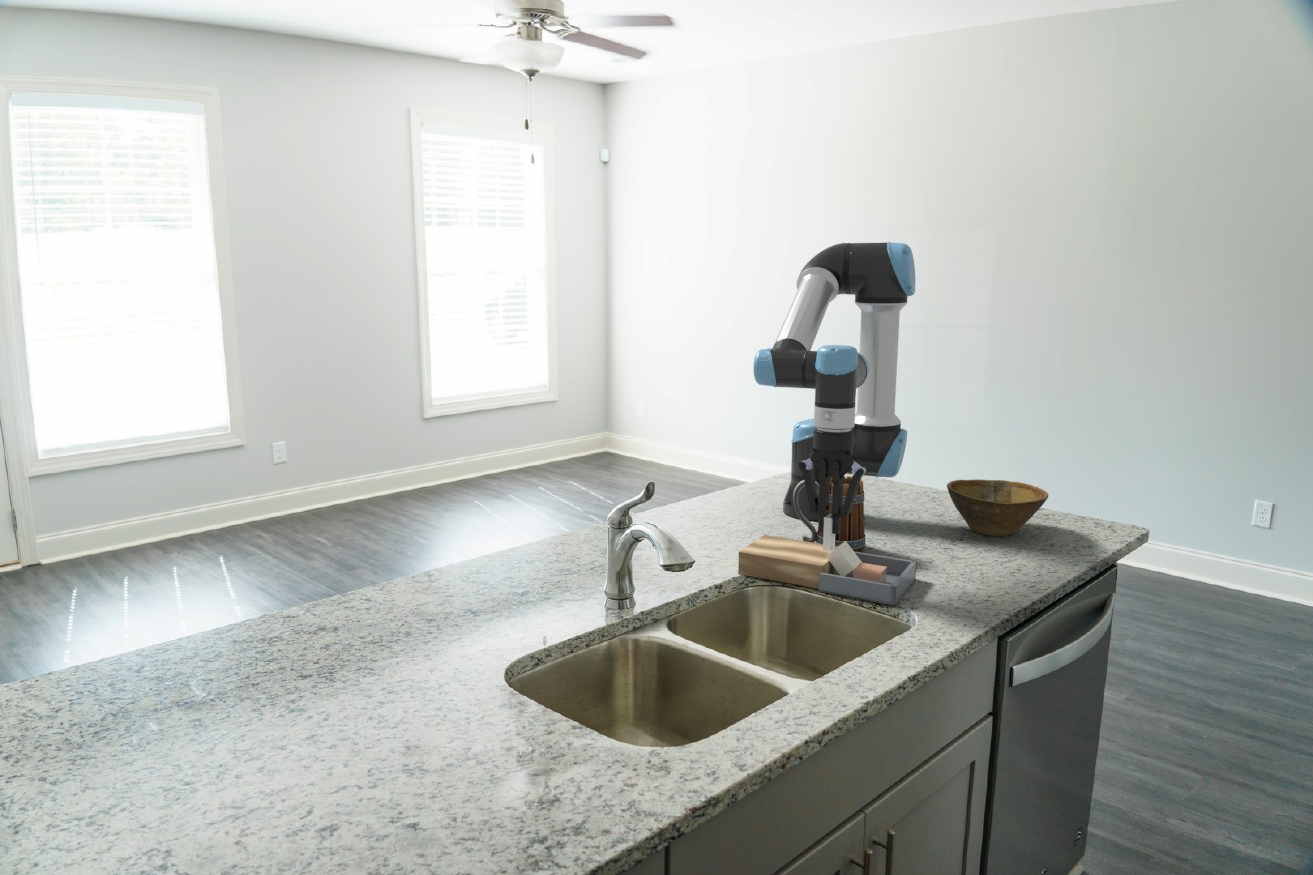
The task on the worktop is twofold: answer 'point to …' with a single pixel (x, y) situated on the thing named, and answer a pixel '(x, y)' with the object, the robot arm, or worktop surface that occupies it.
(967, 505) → the bowl
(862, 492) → the mug
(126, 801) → the worktop surface
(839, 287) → the robot arm
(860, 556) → the tray
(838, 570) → the tile cream
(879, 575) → the tile terracotta
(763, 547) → the oak board
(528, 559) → the worktop surface
